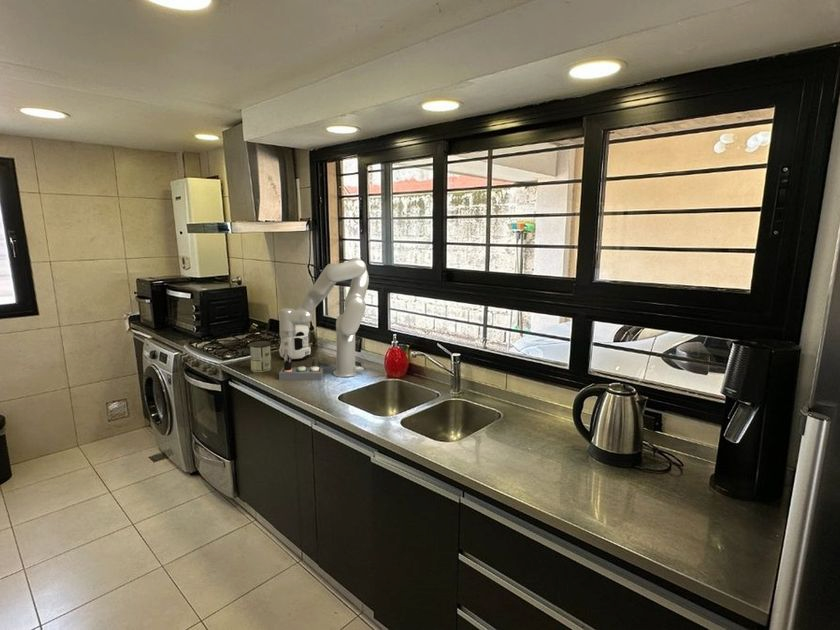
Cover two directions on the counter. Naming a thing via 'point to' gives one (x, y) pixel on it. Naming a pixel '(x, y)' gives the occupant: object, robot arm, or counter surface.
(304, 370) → the green button
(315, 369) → the cream button
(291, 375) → the button panel
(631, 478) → the counter surface
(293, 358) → the milk container
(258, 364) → the coffee can
